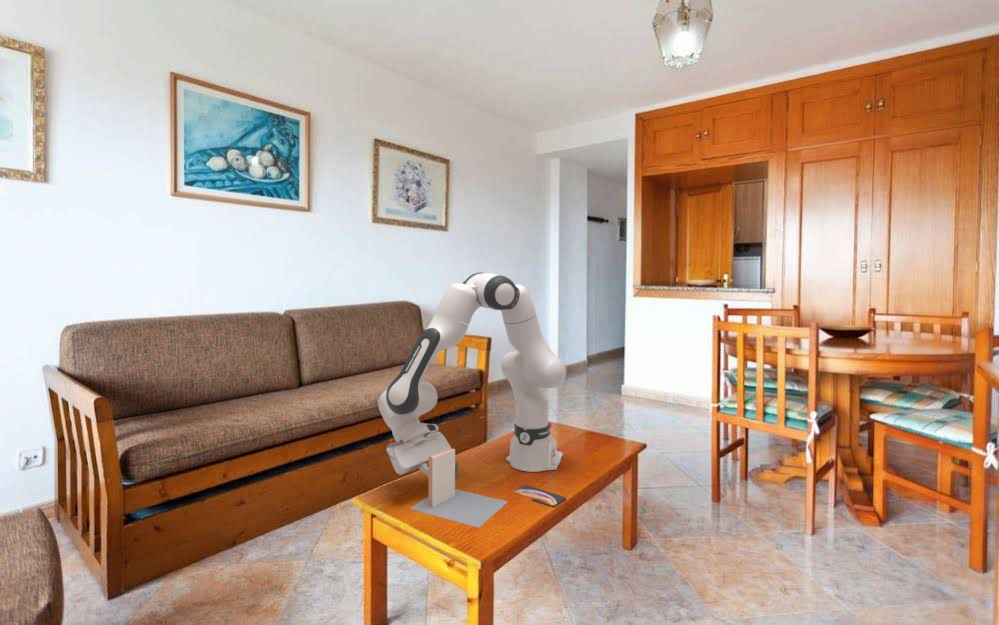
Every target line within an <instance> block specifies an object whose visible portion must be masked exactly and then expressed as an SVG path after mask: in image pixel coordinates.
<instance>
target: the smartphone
mask: <svg viewBox="0 0 999 625" xmlns="http://www.w3.org/2000/svg"><path fill="white" fill-rule="evenodd" d="M514 492H515V493H517V494H519V495H521V496H524V497H528V498H530V499H531V501H532V502H535V503H538V504H540V505H543V504H544V506H546V505H547V506H546V507H549V506H551V507H550V508H556V507H558V506H559V505H560V503H561V502H562V503H564V502H565V501H566V500H567V498H566V497H565V496H562V495H561V494H556V493H554V492H550V491H547V490H544V489H541V488H537V487H534V486H532V485H528V484H523V485H522V486H520V487H518V488H517V489H515V490H514ZM565 499H566V500H565ZM564 500H565V501H564ZM563 501H564V502H563ZM562 503H561V504H562ZM558 504H559V505H558ZM557 505H558V506H557ZM555 506H556V507H555Z"/></svg>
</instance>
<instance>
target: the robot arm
mask: <svg viewBox="0 0 999 625" xmlns="http://www.w3.org/2000/svg"><path fill="white" fill-rule="evenodd" d="M481 307H482V308H485V309H492V310H495V311H500V312H501V315H502V320H503V324H504V328H505V332H506V336H507V339H508V342H509V344H510V345H511V346H512V347H513V348H514V349H515V350H516V351H509V352H507V353H506V354H505V355H504V356H503V358H502V359H501V360H502V361H501V364H500V365H501V372H502V374H503V376H504V377H505V378H506V379H507V380H508V383H509V384H510V387H511V390H512V392H513V396H514V400H515V401H514V402H515V423H514V428H513V430H514V432H513V433H514V436H512V437H511V439H510V447H509V448H510V449H509V455H508V456H506V459H505V460H506V462H508V463H509V465H510V466H511V467H512V468H514V469H516V470H519V471H523V472H530V473H533V472H534V473H536V472H537V473H539V472H545V471H556V470H557V469H558V468H559V466H558V465H560V463H561V461H562V459H563V457H562V456H563V455H564V454H563V452H561V451H558V450H557V448H558V447H557V446H558V445H557V440H556V439H555V438H554V437H553V436H552V435H551V430H550V429H551V428H552V426H553V424H552V422H551V421H549V404H548V403H549V402H548V400H547V399H546V397H545V396H544V395H543V394H542V393H541V391H540V388H544V389H551V388H552V389H553V388H559V387H560V386H561V385H562V384H563V383H564V381H565V379H566V376H567V368H566V365H565V363H564V361H563V360H562V359H560V357H558V356H557V355H556V354H555V353H554V352H553V351H552V349H551V348H550V347H549V345H548V344H547V342H546V340H545V338H544V336H543V334H542V331H541V327H540V323H539V321H538V317H537V316H538V315H537V311H536V309H535V305H534V302H533V299H532V297H531V295H530V293H529V291H528V288H527V287H525V286H524V285H523V284H518V283H517V284H515V283H514V282H513V280H512V279H510V278H509V277H507V276H505V275H500V274H497V273H493V272H487V273H486V272H475V273H472V274H471V275H469V276H468V277H467V278H466V279H465V280H464V281H463V282H455V283H452V284H451V285H450V286H449V287H448V288H447V290H446V291H445V293H444V294H443V296H442V298H441V300H440V301H439V303H438V306H437V307H436V310H435V312H434V314H433V317H432V319H431V320H430V322H429V324H428V326H427V327H426V328H425V330H424V331H423V332H422V334H420V336H419V337H418V339H417V341H416V343H415V344H414V346H413V348H412V350H411V352H410V354H409V355H408V357H407V359H406V361H405V363H404V365H403V366H402V369H401V371H400V372H399V373H398V375H397V376H396V377H395V378H394V379H393V380H392V381H391V382H390V384H389V385H388V386H387V389H386V390H384V391H383V392H382V393H381V394H380V396H379V398H378V400H377V406H378V410H379V412H380V415H381V417H382V418H383V421H384V422H385V424H386V425H387V426H388V428H390V431H392V436H393V438H394V440H395V441H394V442H391V443H389V444H388V445H387V447H386V453H387V454H388V457H389V459H390V461H391V464H392V467H393V469H394V472H395V473H396V474H398V475H399V476H401V475H402V476H403V475H404V474H407V473H409V472H412V471H414V470H416V469H419V470H420V472H422V473H423V474H425V475H426V476H427V478H428V479H429V456H431V455H434V454H436V453H439V452H442V451H444V450H447V449H449V448H452V447H451V445H450V444H449V442H448V440H447V439H446V437H445V435H444V434H443V433H442V432H440V431H439V426H438V425H437V424H435V423H424V422H421V421H420V420H419V417H422V416H423V415H425V414H427V413H429V412H430V411H432V410H433V409H434V408H435V407H436V405H437V403H438V399H439V394H438V390H437V388H436V387H435V385H433V384H432V383H431V382H428V381H422V379H423V377H424V375H425V373H426V371H427V370H428V367H429V365H430V364H431V362H432V360H433V358H434V357H435V356H436V355H437V354H438V353H440V352H442V351H444V350H446V349H448V348H452V347H456V345H458V344H460V343H461V341H462V340H463V338H464V337H465V335H466V333H467V331H468V328H469V326H470V323H471V322H472V318H473V315H474V314H475V312H476V311H477V310H479V308H481ZM561 458H562V459H561ZM557 467H558V468H557Z"/></svg>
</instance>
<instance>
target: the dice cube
mask: <svg viewBox="0 0 999 625" xmlns="http://www.w3.org/2000/svg"><path fill="white" fill-rule="evenodd" d="M458 476H459V461H457V460H455V478H456V477H458Z"/></svg>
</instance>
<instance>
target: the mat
mask: <svg viewBox="0 0 999 625" xmlns="http://www.w3.org/2000/svg"><path fill="white" fill-rule="evenodd" d="M507 503H508V501H507V500H503V499H498V498H494V497H490V496H486V495H482V494H477V493H473V492H468V491H465V490H460V489H456V488H455V496H454V497H452V498H450V499H448V500H446V501H444V502H442V503H440V504H438V505H436V506H434V507H431V506H429V505H428V496H427V497H425V498H424V499H422V500H421V501H419V502H417V503H416V504H415V505H412V507H410V508H409V510H412V511H415V512H416V511H417V512H419V513H424V514H427V515H431V516H433V517H438V518H442V519H446V520H447V521H452V522H456V523H460V524H463V525H467V526H470V527H475V528H481V527H482V526H483V525H484V524H485V523H486V522H487V521H488V520H489V519H491V518H492V517H493V516H494V515H495V514H496V513H498V511H500V510H501V509H502V508H503V507H504V506H505V505H506V504H507Z"/></svg>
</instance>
